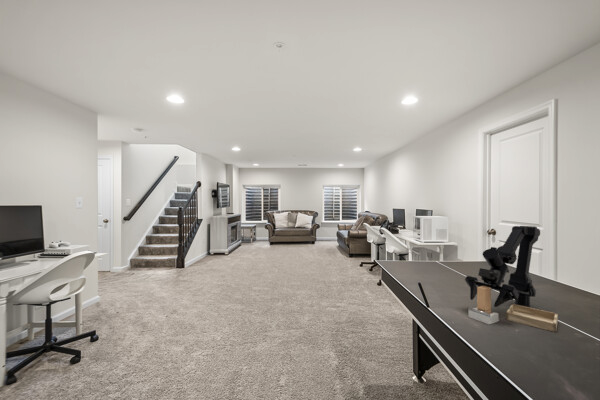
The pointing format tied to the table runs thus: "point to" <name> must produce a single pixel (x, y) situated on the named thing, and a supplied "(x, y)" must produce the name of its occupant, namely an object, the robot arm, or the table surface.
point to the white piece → (483, 316)
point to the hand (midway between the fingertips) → (482, 302)
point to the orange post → (484, 299)
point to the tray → (532, 317)
